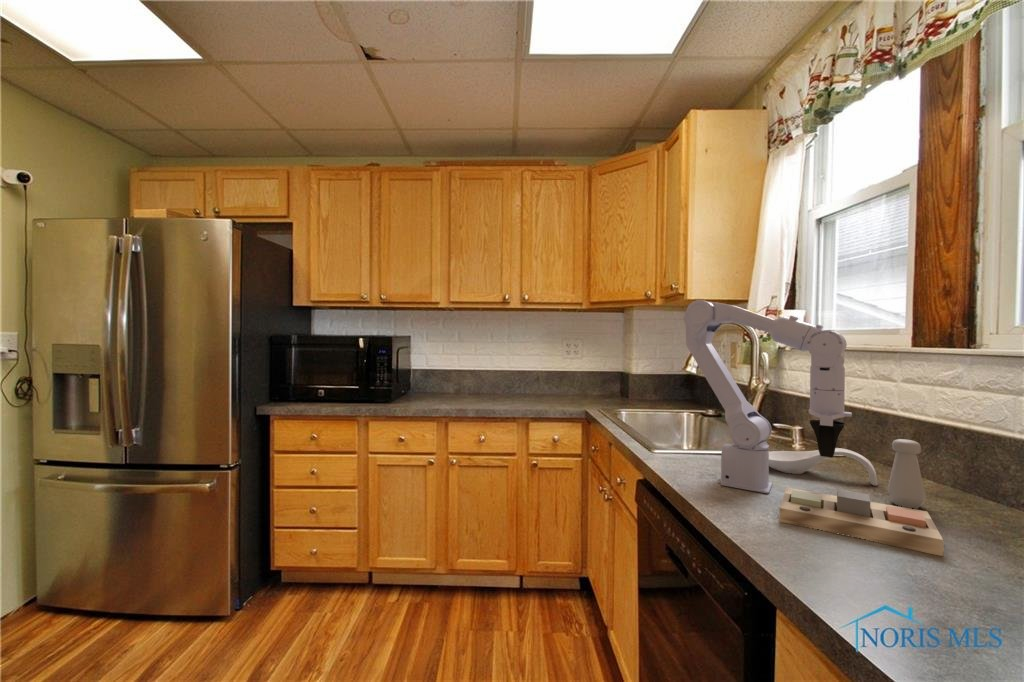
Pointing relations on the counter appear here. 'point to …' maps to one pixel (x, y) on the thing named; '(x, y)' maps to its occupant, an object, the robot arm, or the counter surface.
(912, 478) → the salt shaker
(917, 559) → the counter surface
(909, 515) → the key terracotta
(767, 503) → the counter surface
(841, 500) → the key slate
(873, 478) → the light grey curved piece
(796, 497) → the key sage
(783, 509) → the tan wooden slotted tray
